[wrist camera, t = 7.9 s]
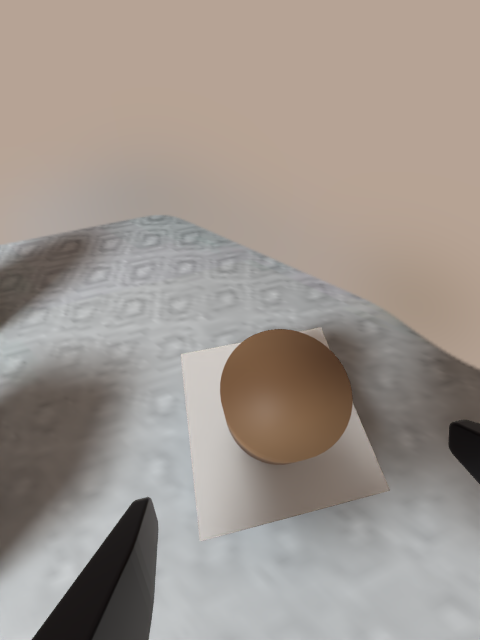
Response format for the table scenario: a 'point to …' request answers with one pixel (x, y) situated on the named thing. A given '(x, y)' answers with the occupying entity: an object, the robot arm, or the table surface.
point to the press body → (258, 477)
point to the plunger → (285, 396)
